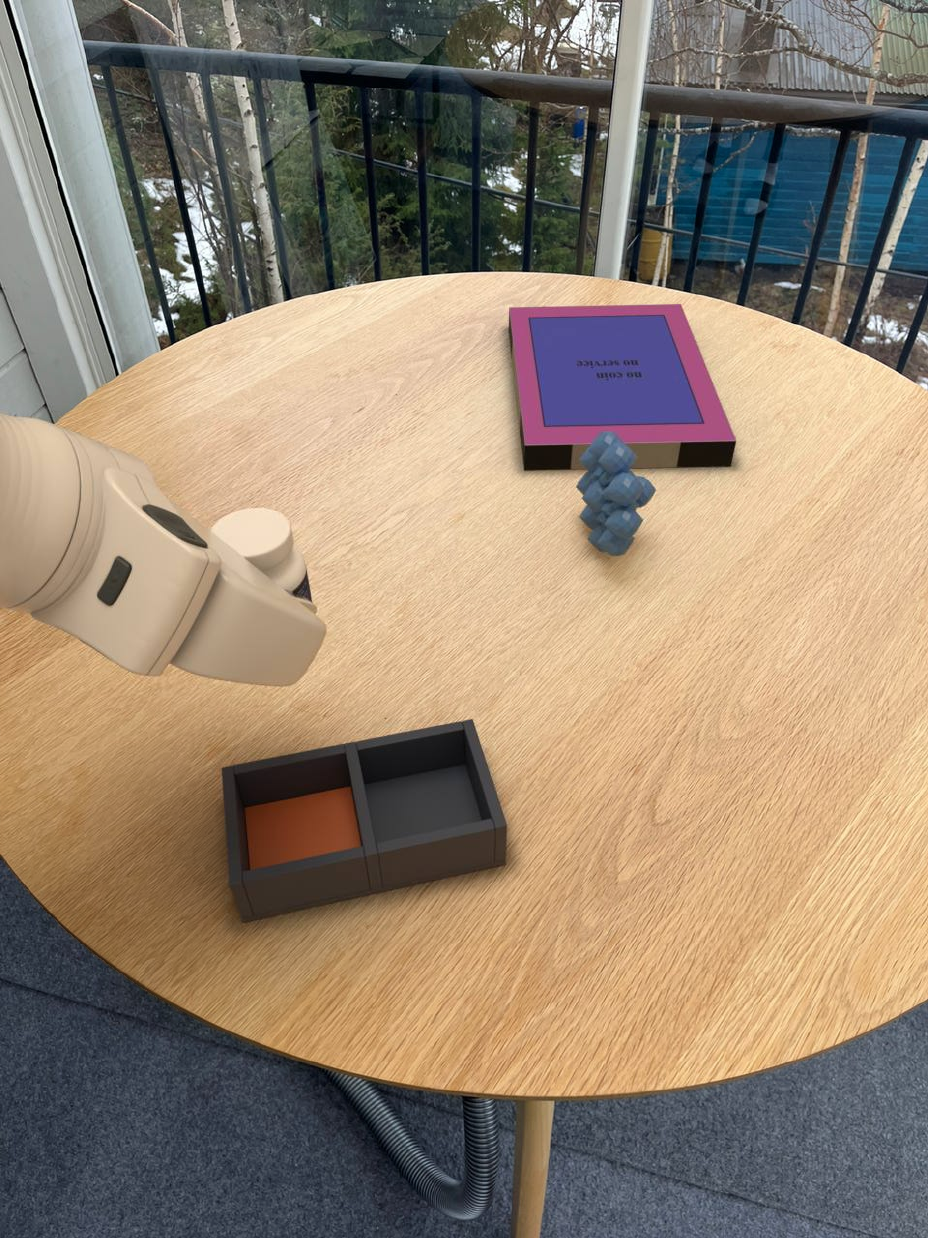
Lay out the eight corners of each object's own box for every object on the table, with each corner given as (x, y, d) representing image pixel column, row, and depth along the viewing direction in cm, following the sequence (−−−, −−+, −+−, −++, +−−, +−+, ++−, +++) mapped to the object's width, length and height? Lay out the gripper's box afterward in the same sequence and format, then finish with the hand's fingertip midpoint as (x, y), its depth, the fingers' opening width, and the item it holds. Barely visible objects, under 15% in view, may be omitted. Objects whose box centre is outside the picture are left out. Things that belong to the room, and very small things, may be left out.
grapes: (668, 583, 83) (690, 470, 74) (594, 593, 82) (607, 480, 73) (629, 504, 91) (644, 394, 82) (561, 512, 90) (569, 402, 82)
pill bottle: (337, 640, 61) (320, 519, 54) (282, 698, 58) (257, 575, 51) (268, 611, 63) (243, 490, 56) (211, 664, 60) (177, 542, 53)
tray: (242, 923, 60) (229, 885, 57) (233, 806, 66) (221, 767, 63) (505, 864, 63) (507, 825, 59) (473, 758, 69) (472, 718, 66)
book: (680, 303, 115) (736, 440, 93) (677, 326, 117) (730, 466, 95) (509, 307, 115) (524, 445, 93) (508, 330, 117) (523, 470, 95)
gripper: (-43, 495, 51) (157, 552, 63) (152, 695, 41) (349, 720, 52) (7, 392, 50) (200, 469, 62) (220, 570, 40) (405, 623, 51)
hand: (270, 585), depth 57 cm, fingers closed on pill bottle, 6 cm apart
